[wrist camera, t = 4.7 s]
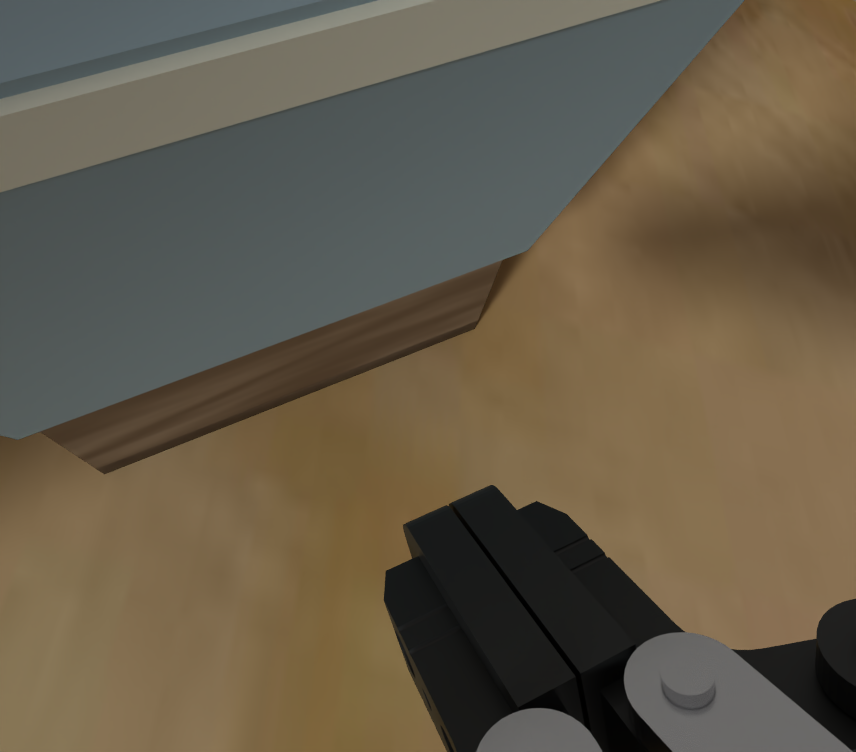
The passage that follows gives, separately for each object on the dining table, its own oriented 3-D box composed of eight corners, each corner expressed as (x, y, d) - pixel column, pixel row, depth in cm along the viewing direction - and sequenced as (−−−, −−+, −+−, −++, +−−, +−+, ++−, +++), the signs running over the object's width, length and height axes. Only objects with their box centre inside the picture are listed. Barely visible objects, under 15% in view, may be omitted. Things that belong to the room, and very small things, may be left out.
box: (474, 328, 35) (514, 230, 26) (104, 474, 30) (11, 412, 22) (347, 82, 39) (347, -69, 31) (8, 180, 35) (-101, 35, 26)
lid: (516, 226, 26) (529, 255, 26) (6, 409, 22) (20, 445, 22) (833, -195, 11) (870, -127, 10) (-709, 158, 6) (-677, 278, 6)
